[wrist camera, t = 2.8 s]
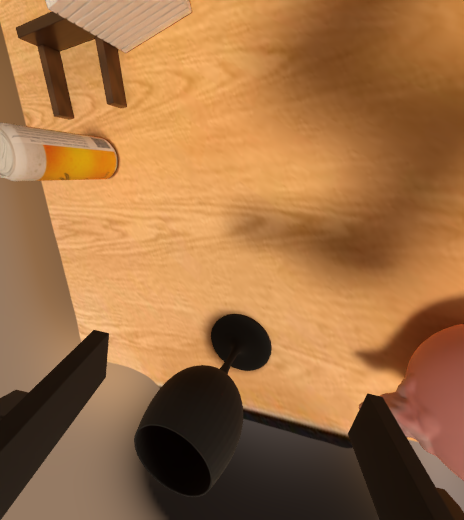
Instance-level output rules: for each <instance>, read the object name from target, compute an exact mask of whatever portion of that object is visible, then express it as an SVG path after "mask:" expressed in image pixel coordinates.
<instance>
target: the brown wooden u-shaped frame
mask: <svg viewBox="0 0 464 520" xmlns="http://www.w3.org/2000/svg"><path fill="white" fill-rule="evenodd" d="M16 30H17V34H18V38H20V39H22V40H24V41H27V42H29V43H31V44H34V45H36V46H38V51H39V55H40V59H41V63H42V68H43V72H44V76H45V80H46V84H47V89H48V93H49V97H50V101H51V105H52V110H53V114H54V117H59V118H64V119H73V118H74V116H73V112H72V107H71V103H70V98H69V93H68V89H67V84H66V80H65V75H64V71H63V66H62V61H61V57H60V52H59V51H61V50H64V49H67V48H70V47H72V46H75V45H78V44H81V43H83V42H86V41H89V40H92V39H95V40H96V45H97V51H98V56H99V62H100V67H101V73H102V78H103V84H104V89H105V95H106V100H107V104H108V105H112V106H115V107H118V108H123V107H127V106H126V99H125V93H124V87H123V81H122V75H121V69H120V63H119V57H118V51H117V48H116V47H115V46H113V45H111V44H110V43H107V42H105V41H104V40H103V39H100V38H98V37H97V35H96V36H95V35H93V34H91V33H90V31H89V32H88V31H86V30H84V29H83V27H79V26H77V25H76V24H75V22H74V23H72V22H70V21H68V20H67V18H63V17H61V16H60V15H59V14H58V13H54V12H53V11H52V12H50V13H47V14H45V15H43V16H41V17H38V18H36V19H34V20H32V21H30V22H27V23H25V24H23V25H21V26H18V27H16Z"/></svg>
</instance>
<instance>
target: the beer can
mask: <svg viewBox="0 0 464 520" xmlns="http://www.w3.org/2000/svg"><path fill="white" fill-rule="evenodd" d="M117 162H118V161H117V155H116V152H115V150H114V148H113V147H112V146H111V145H110V143H109V142H108V141H107V140H105V139H103V138H99V137H93V136H86V135H79V134H73V133H66V132H60V131H53V130H46V129H40V128H33V127H27V126H20V125H13V124H7V123H0V177H2V178H3V177H4V178H6V179H9V180H12V181H38V180H40V181H41V180H85V179H107V178H109V177H111V176H112V175H113V173H114V172H115V170H116V168H117Z"/></svg>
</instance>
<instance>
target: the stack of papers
mask: <svg viewBox="0 0 464 520" xmlns="http://www.w3.org/2000/svg"><path fill="white" fill-rule="evenodd" d="M45 1H46V4H47V7H48V9H49V10H51V11H53V12H54V13H58V14H59V15H60V16H61V17H63V18H67V20H68V21H70V22H72V23H74V22H75V24H76V25H77V26H79V27H83V29H84V30H86V31H88V32H89V31H90V33H91V34H93V35H95V36H96V35H97V37H98V38H100V39H103V40H104V41H105V42H107V43H110V44H111V45H113V46H115V47H116V48H118V49H121V51H123V52H125V53H127V52H128V51H130V50H131V49H133V48H135V47H136V46H138V45H139V44H141V43H143V42H144V41H146V40H148V39H149V38H151V37H152V36H154V35H156V34H157V33H159V32H161V31H162V30H164V29H165V28H167V27H169V26H170V25H172V24H173V23H175V22H177V21H178V20H180V19H182V18H183V17H185V16H186V15H188V14H190V13H191V12H192V10H191V6H190V1H189V0H45Z"/></svg>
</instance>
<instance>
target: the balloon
mask: <svg viewBox="0 0 464 520" xmlns="http://www.w3.org/2000/svg"><path fill="white" fill-rule="evenodd" d="M380 397H383V398H384V400H385V402H386V404H387V405H388V407H389V409H390V410H391V412H392V414H393V415H394V417H395V419H396V421H397V422H398V424H399V426H400V427H401V429H402V431H403V433H404V434H405V436H406V437H412V438H414V439H416V440H417V441H418V442H419V444H420V445H421V446H422V448H423V449H424V450H426V451H427V452H429V453H431V454H433V455H435V456H437V457H438V458H439V459H440V460H441V461H442V462H443V463H444V464H445V465H446V466H447V467H448V468H449V469H450V470H451V471H452V472H453V473H455V474H456V475H457V476H458V477H460V478H461V479H462V480H463V481H464V324H459V325H455V326H452V327H448V328H446V329H443V330H441V331H439V332H437V333H435V334H433V335H432V336H430V337H429V338H427V339H426V340H425V341H424V342H423V343H422V344H421V345H420V346H419V347H418V348H417V349H416V351H415V352H414V354H413V355H412V357H411V359H410V361H409V364H408V366H407V370H406V375H405V379H403V381H402V382H401V384H400V385H399V386H398V388H397V390H396V392H394V393H385V394H382V395H380ZM362 404H363V402H362V403H361V404H360V405H359V409H360V408H361V406H362Z"/></svg>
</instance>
